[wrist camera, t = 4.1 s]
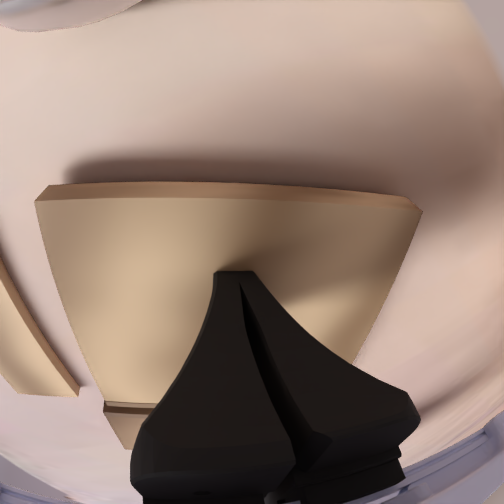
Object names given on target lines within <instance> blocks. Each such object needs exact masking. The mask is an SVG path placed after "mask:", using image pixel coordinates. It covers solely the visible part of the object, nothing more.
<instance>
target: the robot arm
mask: <svg viewBox="0 0 504 504" xmlns="http://www.w3.org/2000/svg"><path fill="white" fill-rule="evenodd" d="M420 421H421V418H420V415H419V413H418V412H417V410H416V408H415V406H414V404H413V402H412V400H411V398H410V397H409V395H408V393H407V392H405V391H403V390H401V389H399V388H396V387H394V386H392V385H389V384H387V383H385V382H383V381H381V380H378V379H376V378H375V377H373V376H371V375H369V374H367V373H365V372H364V371H362V370H360V369H358V368H357V367H355V366H353V365H352V364H350V363H348V362H347V361H345V360H344V359H342V358H341V357H339V356H338V355H336V354H335V353H334V352H332V351H331V350H329V349H328V348H327V347H325V346H324V345H323V344H322V343H320V342H319V341H318V340H317V339H315V338H314V337H313V336H312V335H311V334H309V333H308V332H307V331H306V330H305V329H304V328H303V327H302V326H301V325H300V324H299V323H298V322H297V321H296V320H295V319H294V318H293V317H292V316H291V315H290V314H289V313H288V312H287V311H286V310H285V309H284V308H283V306H282V305H281V304H280V303H279V302H278V301H277V300H276V299H275V297H274V296H273V295H272V294H271V293H270V291H269V290H268V289H267V288H266V286H265V285H264V284H263V283H262V281H261V280H260V279H259V277H258V276H257V275H256V273H255V272H254V271H216V272H215V273H214V274H213V289H212V295H211V299H210V302H209V306H208V310H207V313H206V316H205V318H204V321H203V324H202V327H201V329H200V332H199V334H198V336H197V339H196V341H195V343H194V345H193V347H192V349H191V351H190V353H189V355H188V357H187V359H186V361H185V363H184V364H183V366H182V368H181V370H180V372H179V373H178V375H177V376H176V378H175V380H174V381H173V383H172V384H171V386H170V387H169V389H168V390H167V392H166V393H165V395H164V396H163V397H162V399H161V400H160V402H159V403H158V404H157V405H156V407H155V408H154V409H153V410H152V412H151V413H150V414H149V416H148V417H147V418H146V419H145V421H144V422H143V423H142V424H141V427H140V430H139V432H138V435H137V438H136V440H135V444H134V447H133V451H132V455H131V462H130V482H131V484H132V486H133V487H134V488H135V489H136V490H137V491H138V492H139V493H140V494H141V495H142V496H143V504H482V503H483V502H484V501H485V500H486V499H487V498H488V497H489V496H490V495H492V494H493V493H494V492H495V491H496V490H497V489H498V488H499V487H500V486H501V485H502V483H504V410H503V411H502V412H500V413H499V414H497V415H496V416H495V417H494V418H492V419H491V420H490V421H489V422H488V423H487V424H486V425H485V426H484V427H483V428H482V429H480V430H479V431H477V432H475V433H473V434H472V435H470V436H468V437H467V438H465V439H463V440H461V441H459V442H458V443H456V444H454V445H452V446H450V447H448V448H446V449H444V450H442V451H440V452H438V453H436V454H434V455H432V456H430V457H428V458H426V459H424V460H422V461H419V462H417V463H415V464H413V465H410V466H408V467H406V468H403V469H402V467H401V465H400V463H399V460H398V458H400V457H401V454H402V453H401V451H400V449H399V447H398V446H399V445H400V444H401V443H402V442H403V441H404V440H405V439H406V438H407V437H408V436H410V435H411V434H412V433H413V432H414V431H415V429H416V428H417V427H418V425H419V423H420ZM0 504H78V503H73V502H68V501H63V500H59V499H55V498H51V497H47V496H43V495H39V494H36V493H32V492H28V491H26V490H22V489H19V488H16V487H13V486H10V485H7V484H4V483H1V482H0Z"/></svg>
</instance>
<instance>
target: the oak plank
mask: <svg viewBox="0 0 504 504" xmlns="http://www.w3.org/2000/svg"><path fill="white" fill-rule="evenodd" d="M34 203H35V208H36V212H37V217H38V222H39V226H40V230H41V234H42V238H43V242H44V246H45V250H46V253H47V257H48V261H49V264H50V267H51V271H52V274H53V277H54V280H55V284H56V287H57V290H58V293H59V296H60V298H61V301H62V304H63V307H64V310H65V312H66V315H67V318H68V320H69V323H70V325H71V328H72V331H73V333H74V335H75V338H76V340H77V343H78V345H79V347H80V350H81V352H82V354H83V356H84V359H85V361H86V363H87V365H88V367H89V370H90V372H91V374H92V376H93V378H94V380H95V382H96V384H97V386H98V388H99V390H100V392H101V394H102V396H103V398H104V400H105V402H106V404H107V406H118V407H135V408H155V407H156V405H157V404H158V403H159V402H160V400H161V399H162V397H163V396H164V395H165V393H166V392H167V390H168V389H169V387H170V386H171V384H172V383H173V381H174V380H175V378H176V376H177V375H178V373H179V372H180V370H181V368H182V366H183V364H184V363H185V361H186V359H187V357H188V355H189V353H190V351H191V349H192V347H193V345H194V343H195V341H196V339H197V336H198V334H199V332H200V329H201V327H202V324H203V321H204V318H205V316H206V313H207V310H208V306H209V302H210V299H211V295H212V289H213V274H214V273H215V272H216V271H254V272H255V273H256V275H257V276H258V277H259V279H260V280H261V281H262V283H263V284H264V285H265V286H266V288H267V289H268V290H269V291H270V293H271V294H272V295H273V296H274V297H275V299H276V300H277V301H278V302H279V303H280V304H281V305H282V306H283V308H284V309H285V310H286V311H287V312H288V313H289V314H290V315H291V316H292V317H293V318H294V319H295V320H296V321H297V322H298V323H299V324H300V325H301V326H302V327H303V328H304V329H305V330H306V331H307V332H308V333H309V334H311V335H312V336H313V337H314V338H315V339H317V340H318V341H319V342H320V343H322V344H323V345H324V346H325V347H327V348H328V349H329V350H331V351H332V352H334V353H335V354H336V355H338V356H339V357H341V358H342V359H344V360H345V361H347V362H348V363H350V364H352V363H353V361H354V359H355V357H356V356H357V354H358V352H359V350H360V348H361V347H362V345H363V343H364V341H365V339H366V337H367V335H368V334H369V332H370V330H371V328H372V326H373V324H374V322H375V320H376V318H377V316H378V314H379V312H380V310H381V308H382V306H383V304H384V302H385V300H386V298H387V296H388V294H389V291H390V289H391V287H392V285H393V283H394V281H395V278H396V276H397V274H398V272H399V269H400V267H401V265H402V262H403V260H404V258H405V255H406V253H407V251H408V248H409V246H410V243H411V241H412V238H413V236H414V233H415V231H416V228H417V225H418V223H419V220H420V217H421V215H422V212H423V211H421V210H420V209H419V208H418V207H417V206H416V205H415V204H413V203H412V202H411V201H410V200H409V199H408V198H406V197H402V196H394V195H385V194H377V193H367V192H358V191H348V190H337V189H325V188H313V187H299V186H284V185H267V184H246V183H218V182H109V183H83V184H63V185H49V186H48V187H47V188H46V189H45V190H44V191H43V192H42V193H41V194H40V195H39V196H38V198H37V199H36V200H35V201H34Z"/></svg>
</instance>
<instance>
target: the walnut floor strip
mask: <svg viewBox="0 0 504 504" xmlns="http://www.w3.org/2000/svg"><path fill="white" fill-rule="evenodd" d="M153 409H154V408H135V407H118V406H107V404H106V402H105V400H104V407H103V413H104V415H105V416H106V418H107V420H108V421H109V423H110V425H111V427H112V428H113V430H114V432H115V434H116V435H117V437H118V439H119V440H120V442H121V444H122V445H123V447H124V448H125V449H129V450H133V447H134V444H135V440H136V438H137V435H138V432H139V430H140V427H141V424H142V423H143V422H144V421H145V419H146V418H147V417H148V416H149V414H150V413H151V412H152V410H153Z"/></svg>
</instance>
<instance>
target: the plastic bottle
mask: <svg viewBox="0 0 504 504" xmlns="http://www.w3.org/2000/svg"><path fill="white" fill-rule="evenodd" d="M140 1H142V0H0V25H1V26H3V27H6V28H10V29H13V30H16V31H23V32H42V31H49V30H57V29H65V28H74V27H81V26H84V25H88V24H91V23H95V22H99V21H101V20H104V19H106V18H108V17H111V16H113V15H116V14H118V13H121V12H122V11H124V10H126V9H128V8H129V7H131V6H133V5H135V4H137V3H139V2H140Z"/></svg>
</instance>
